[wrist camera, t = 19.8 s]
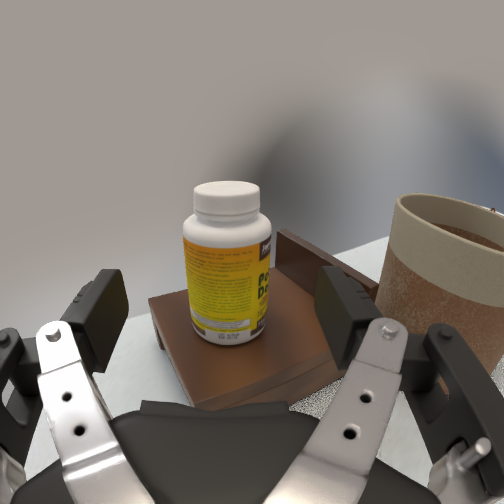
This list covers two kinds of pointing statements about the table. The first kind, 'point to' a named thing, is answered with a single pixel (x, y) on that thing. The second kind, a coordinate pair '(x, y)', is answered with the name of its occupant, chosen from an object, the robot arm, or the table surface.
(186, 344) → the shelf
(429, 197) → the planter
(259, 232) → the supplement bottle
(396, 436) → the table surface
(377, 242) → the table surface
